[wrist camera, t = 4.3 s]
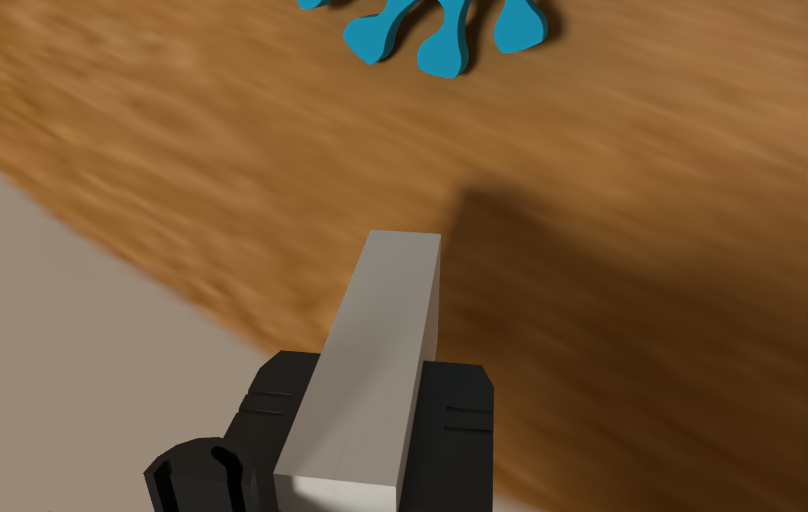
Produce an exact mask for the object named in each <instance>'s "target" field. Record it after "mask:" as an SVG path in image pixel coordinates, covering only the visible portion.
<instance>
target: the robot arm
mask: <svg viewBox="0 0 808 512" xmlns="http://www.w3.org/2000/svg"><path fill="white" fill-rule="evenodd" d="M440 253H441V234H432V233H415V232H399V231H382V230H370V233H369V235H368V238H367V240H366V243H365V245H364V248H363V250H362V253H361V255H360V258H359V260H358V263H357V265H356V268H355V270H354V273H353V275H352V278H351V280H350V283H349V285H348V288H347V290H346V293H345V295H344V298H343V300H342V303H341V305H340V308H339V310H338V313H337V315H336V318H335V320H334V323H333V325H332V328H331V330H330V333H329V335H328V338H327V340H326V343H325V345H324V348H323V350H322V353H321V354H318V353H306V352H294V351H283V350H281V351H280V352H278V353H277V354H276V355H275V356H274V357H272V358H271V359H270V360H269V361H268V362H266V363H265V364H264V365H263V366H262V367H261V368H260V369H259V371H258V372H257V374H256V376H255V378H254V380H253V382H252V384H251V386H250V388H249V390H248V395H247V394H246V395H245V397H244V399H243V401H242V403H241V405H240V407H239V412H238V413H236V415H235V417H234V418H233V421H232V422H231V424H230V426H229V428H228V430H227V432H226V434H225V436H224V438H220V437H211V438H197V439H194V440H191V441H188V442H184V443H181V444H178V445H176V446H174V447H173V448H171V449H170V450H168V451H166V452H165V453H163V454H162V455H160V456H158V457H157V458H156V459H155V460H154V462H153V463H152V464H151V465H150V466H149V467H148V468H147V469H146V471H145V472H144V473H143V474H144V476H145V480H146V484H147V487H148V490H149V494H150V497H151V501H152V504H153V507H154V511H155V512H492V506H493V411H494V386H493V385H492V383H491V381H490V379H489V378H488V376H487V374H486V372H485V370H484V369H483V367H482V365H470V364H459V363H447V362H435V355H436V348H437V341H438V315H439V284H440Z"/></svg>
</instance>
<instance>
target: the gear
mask: <svg viewBox="0 0 808 512" xmlns="http://www.w3.org/2000/svg"><path fill="white" fill-rule="evenodd" d="M297 1H298V3H299V6H300V8H303V9H312V8H316V7H321V6H325V5H327V4H329V3H330V2H331V1H332V0H297ZM419 1H421V0H387V5H386V8H385V9H384V11H383V12H382V13H381V14H374V15H368V16H364V17H361V18H357V19H355V20H353V21H351V22H350V23H349V24H348V26H347V27H346V29H345V31H344V35H343V38H344V40H345V41H346V43H347V45H348V46H349V47H350V48H351V49H352V51H353V52H354V53H356V54H357V55H358V56H359V57H360V58H361V59H362V60H364V61H365V62H366V63H368V64H369V65H370V64H373V63H375V62H377V61H379V60H382V59H384V58H385V57H387V56H388V55H389V54H390V53H391V51H392V49H393V47H394V42H395V36H396V33H397V30H398V27H399V25H400V23H401V21H402V19H403V18H404V16H405V15H406V14H407V13H408V11H409V10H410V9H411V8H412V7H413V6H414V5H416V4H417V3H418V2H419ZM438 1H439V2H440V3H441V5H442V6H443V9H444V15H445V17H444V22H443V25H442V27H441V28H440V30H439V31H438V32H436V33H435V34H434V35H432V36H431V37H430V38H428V39H427V40H426V41H425V42H423V44H422V45H421V46H420V48H419V51H418V55H417V64H418V68H420V69H421V70H423V71H425V72H427V73H429V74H432V75H435V76H440V77H446V78H455V77H457V76H458V75H460V74H461V73H462V72H463V71H464V70H465V68H466V66H467V64H468V60H469V51H468V47H467V43H466V36H465V21H466V16H467V11H468V8H469V5H470V3H471V0H438ZM547 33H548V22H547V18H546V17H545V15H544V13H543V12H542V11H541V10H540V9H539V8H538V6H537V5H536V4H535V3H534V1H533V0H506V1H505V6H504V8H503V10H502V12H501V14H500V16H499V18H498V21H497V23H496V26H495V30H494V39H495V42H496V45H497V47H498V49H499V50H500V51H501V52H502V53H512V52H517V51H521V50H524V49H526V48H529V47H531V46H534V45H536V44H538V43H540V42H542V41H543V40H544V39H545V38H546V37H547Z"/></svg>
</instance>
